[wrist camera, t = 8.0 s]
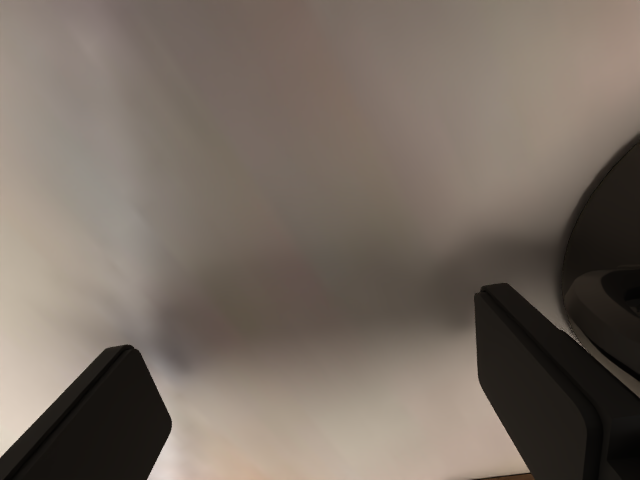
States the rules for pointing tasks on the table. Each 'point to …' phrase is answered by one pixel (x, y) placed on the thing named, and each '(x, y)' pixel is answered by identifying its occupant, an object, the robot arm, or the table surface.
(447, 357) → the table surface
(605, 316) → the mug
